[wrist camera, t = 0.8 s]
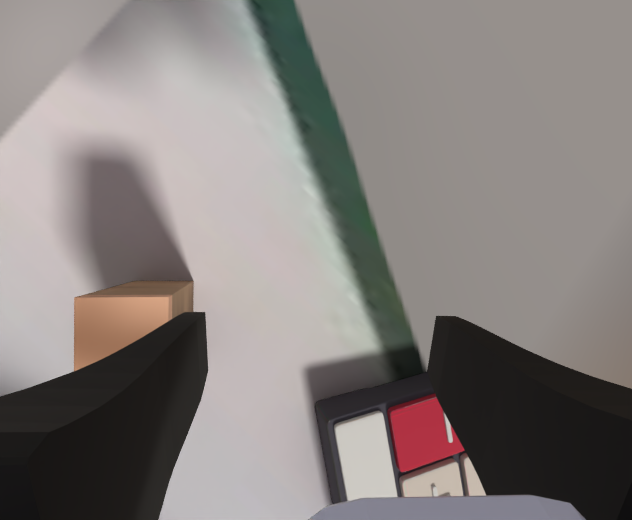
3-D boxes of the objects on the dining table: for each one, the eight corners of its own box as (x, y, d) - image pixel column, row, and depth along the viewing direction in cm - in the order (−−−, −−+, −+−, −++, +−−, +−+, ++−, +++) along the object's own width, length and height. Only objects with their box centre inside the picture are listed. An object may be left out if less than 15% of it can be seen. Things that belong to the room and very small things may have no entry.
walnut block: (192, 362, 28) (167, 423, 18) (133, 365, 27) (73, 429, 17) (193, 280, 28) (168, 296, 18) (134, 280, 27) (74, 297, 17)
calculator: (532, 502, 30) (356, 576, 26) (493, 472, 34) (337, 532, 30) (511, 368, 29) (328, 424, 26) (475, 354, 33) (313, 400, 30)
